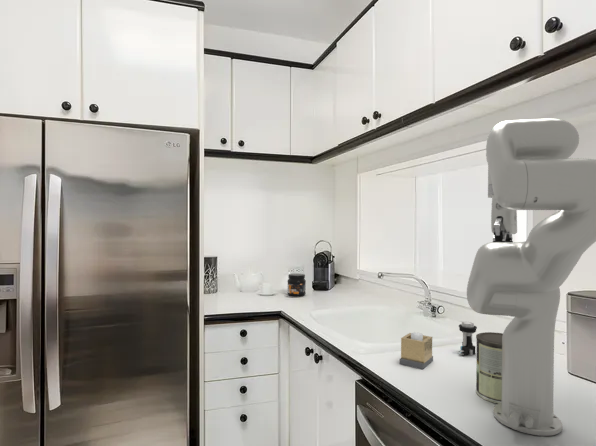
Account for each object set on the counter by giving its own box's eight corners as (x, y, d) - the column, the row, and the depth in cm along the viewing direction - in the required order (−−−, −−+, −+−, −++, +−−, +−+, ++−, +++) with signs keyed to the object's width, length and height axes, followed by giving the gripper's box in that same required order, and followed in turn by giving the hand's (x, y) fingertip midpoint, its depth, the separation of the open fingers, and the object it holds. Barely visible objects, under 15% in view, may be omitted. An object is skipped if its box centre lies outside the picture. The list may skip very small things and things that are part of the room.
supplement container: (283, 295, 223) (284, 274, 223) (293, 293, 232) (293, 272, 232) (300, 297, 218) (300, 276, 218) (308, 294, 227) (309, 274, 227)
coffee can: (468, 386, 100) (468, 331, 100) (507, 386, 101) (508, 332, 101) (488, 405, 90) (489, 344, 90) (532, 405, 90) (533, 344, 90)
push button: (466, 358, 121) (467, 326, 121) (452, 353, 126) (452, 322, 126) (480, 355, 125) (480, 323, 125) (465, 350, 129) (465, 320, 129)
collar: (424, 363, 113) (424, 342, 113) (401, 358, 117) (401, 338, 117) (432, 356, 118) (432, 336, 118) (409, 352, 123) (409, 332, 123)
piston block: (422, 369, 112) (423, 339, 112) (399, 364, 116) (399, 335, 116) (433, 360, 119) (433, 332, 119) (410, 355, 123) (410, 328, 123)
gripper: (514, 188, 95) (513, 259, 95) (524, 193, 109) (523, 255, 109) (481, 189, 99) (480, 257, 99) (494, 194, 113) (493, 253, 113)
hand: (502, 256), depth 104 cm, fingers open, 9 cm apart
